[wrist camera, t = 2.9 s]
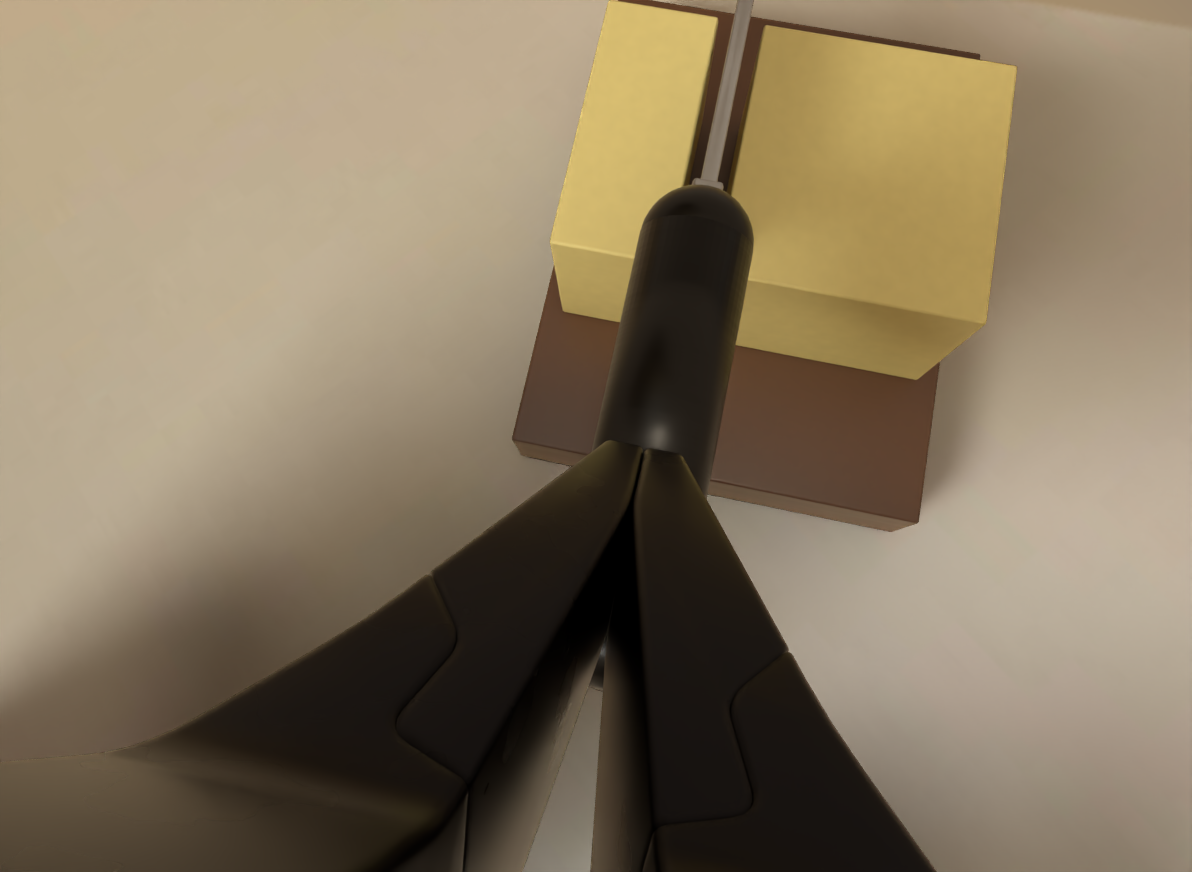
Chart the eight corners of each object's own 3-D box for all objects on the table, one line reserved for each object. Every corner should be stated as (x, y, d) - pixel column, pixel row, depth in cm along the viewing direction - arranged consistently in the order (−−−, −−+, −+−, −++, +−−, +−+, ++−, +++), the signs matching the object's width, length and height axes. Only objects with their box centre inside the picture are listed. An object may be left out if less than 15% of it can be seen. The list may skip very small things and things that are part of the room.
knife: (654, 683, 16) (671, 713, 11) (563, 662, 16) (534, 682, 11) (778, 37, 19) (839, -185, 14) (700, 24, 19) (730, -200, 14)
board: (892, 532, 22) (919, 523, 20) (520, 455, 22) (511, 439, 20) (952, 99, 24) (981, 53, 22) (618, 42, 25) (618, -7, 23)
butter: (917, 380, 20) (986, 324, 17) (561, 312, 21) (548, 242, 17) (947, 165, 22) (1018, 65, 18) (610, 106, 22) (608, -3, 18)
